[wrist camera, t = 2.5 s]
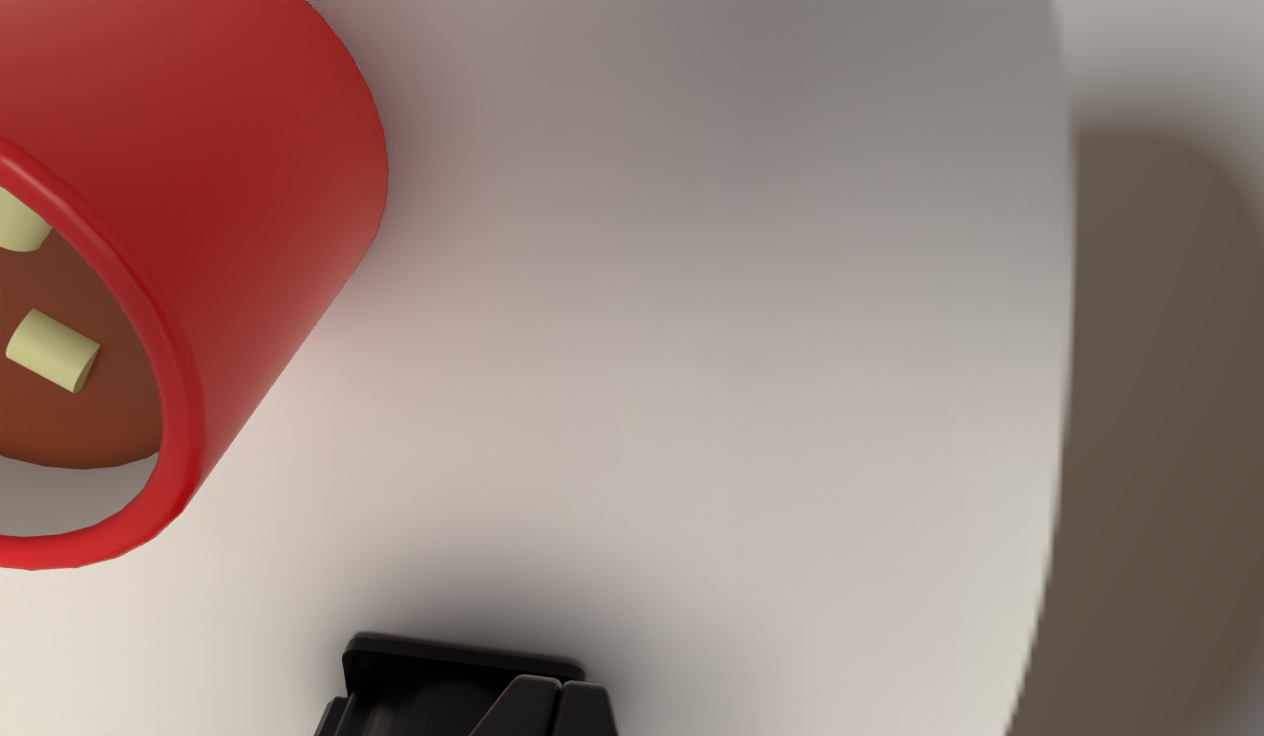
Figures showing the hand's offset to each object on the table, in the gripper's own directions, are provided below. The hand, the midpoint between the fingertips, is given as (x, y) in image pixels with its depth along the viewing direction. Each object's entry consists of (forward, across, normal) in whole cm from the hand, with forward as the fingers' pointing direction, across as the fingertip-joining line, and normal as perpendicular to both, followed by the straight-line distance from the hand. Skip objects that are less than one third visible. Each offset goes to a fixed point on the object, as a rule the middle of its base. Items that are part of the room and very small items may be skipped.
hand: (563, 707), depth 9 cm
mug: (+12, +12, 0) cm, 17 cm away
